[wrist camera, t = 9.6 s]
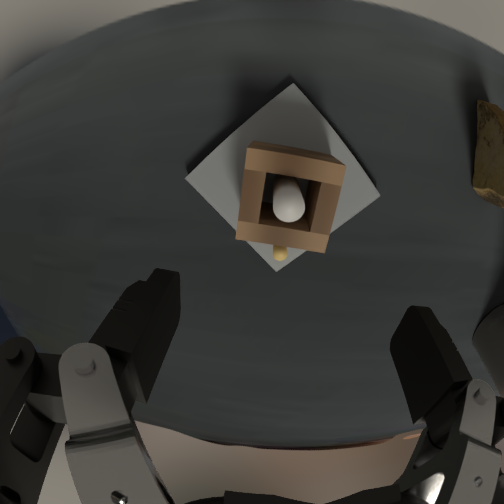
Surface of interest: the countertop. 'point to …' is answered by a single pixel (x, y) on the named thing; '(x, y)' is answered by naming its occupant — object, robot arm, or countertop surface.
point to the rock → (489, 154)
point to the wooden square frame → (316, 202)
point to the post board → (287, 132)
